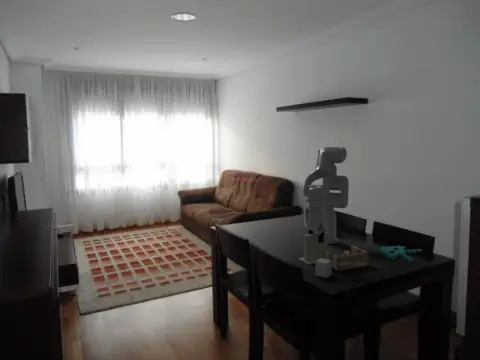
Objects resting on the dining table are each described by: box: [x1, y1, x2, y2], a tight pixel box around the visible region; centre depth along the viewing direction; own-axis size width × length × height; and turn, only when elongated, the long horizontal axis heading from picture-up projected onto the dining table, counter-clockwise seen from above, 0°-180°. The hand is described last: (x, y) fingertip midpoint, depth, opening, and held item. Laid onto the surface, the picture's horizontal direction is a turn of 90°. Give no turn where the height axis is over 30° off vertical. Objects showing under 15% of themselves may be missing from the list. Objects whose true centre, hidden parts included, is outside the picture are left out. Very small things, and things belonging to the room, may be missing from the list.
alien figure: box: [377, 245, 423, 264], centre depth 209 cm, size 20×2×20 cm
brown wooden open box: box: [323, 245, 370, 272], centre depth 196 cm, size 13×19×7 cm
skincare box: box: [314, 258, 333, 279], centre depth 182 cm, size 6×6×7 cm
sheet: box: [303, 232, 329, 261], centre depth 204 cm, size 2×14×14 cm, turn 112°
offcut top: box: [343, 249, 350, 256], centre depth 197 cm, size 2×6×2 cm, turn 163°
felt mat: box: [298, 256, 318, 265], centre depth 204 cm, size 10×16×1 cm, turn 112°
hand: (315, 240), depth 203 cm, fingers open, 9 cm apart
